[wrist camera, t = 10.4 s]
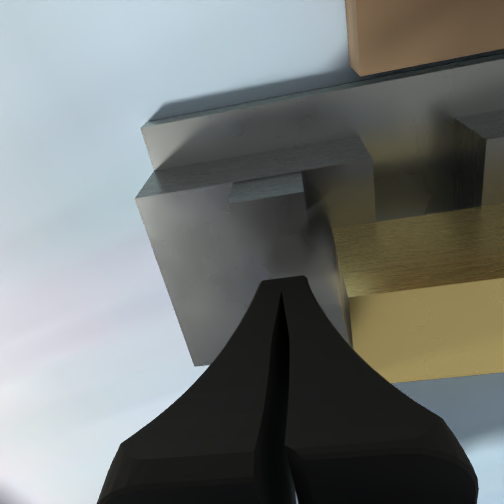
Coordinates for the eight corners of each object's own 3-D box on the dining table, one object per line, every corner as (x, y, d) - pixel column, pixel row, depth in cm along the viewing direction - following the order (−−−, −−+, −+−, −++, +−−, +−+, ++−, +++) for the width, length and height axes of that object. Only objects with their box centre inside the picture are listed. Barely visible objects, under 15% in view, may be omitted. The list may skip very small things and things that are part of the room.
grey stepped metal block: (618, 291, 18) (736, 391, 13) (214, 338, 20) (196, 438, 15) (696, 16, 13) (927, 26, 8) (146, 122, 15) (91, 175, 10)
